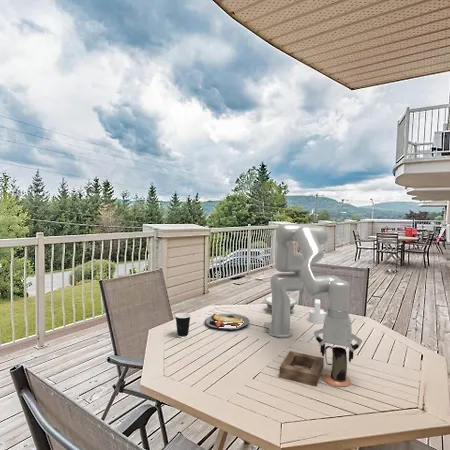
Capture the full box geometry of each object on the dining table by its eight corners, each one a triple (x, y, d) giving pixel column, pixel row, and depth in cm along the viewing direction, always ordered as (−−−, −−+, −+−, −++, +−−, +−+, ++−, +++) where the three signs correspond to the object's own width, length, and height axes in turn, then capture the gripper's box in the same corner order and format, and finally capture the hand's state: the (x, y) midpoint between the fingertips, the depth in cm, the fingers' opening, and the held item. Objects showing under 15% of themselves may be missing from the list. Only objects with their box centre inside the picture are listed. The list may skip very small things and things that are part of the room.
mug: (344, 374, 124) (345, 344, 123) (348, 382, 118) (349, 350, 118) (323, 373, 125) (324, 343, 124) (326, 381, 119) (327, 349, 119)
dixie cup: (190, 333, 166) (191, 312, 166) (190, 339, 158) (190, 317, 158) (175, 333, 165) (175, 312, 165) (174, 339, 157) (174, 317, 157)
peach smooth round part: (320, 383, 119) (320, 381, 119) (324, 371, 128) (324, 369, 128) (349, 389, 115) (349, 388, 115) (351, 377, 124) (351, 375, 124)
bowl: (277, 318, 191) (277, 305, 190) (259, 310, 207) (260, 297, 207) (301, 314, 199) (301, 301, 199) (283, 306, 216) (283, 294, 216)
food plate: (198, 328, 173) (198, 322, 173) (212, 315, 196) (213, 310, 196) (243, 334, 166) (243, 327, 166) (253, 320, 188) (253, 314, 188)
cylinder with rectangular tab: (325, 325, 181) (325, 304, 181) (308, 323, 184) (309, 302, 183) (325, 320, 190) (325, 300, 189) (309, 318, 192) (309, 298, 192)
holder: (279, 377, 123) (279, 367, 123) (289, 360, 137) (289, 351, 137) (316, 386, 117) (316, 375, 116) (323, 367, 131) (323, 357, 131)
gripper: (312, 312, 121) (311, 356, 122) (362, 320, 113) (360, 367, 114) (316, 307, 128) (314, 348, 128) (363, 314, 120) (361, 358, 121)
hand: (336, 357), depth 121 cm, fingers open, 9 cm apart
